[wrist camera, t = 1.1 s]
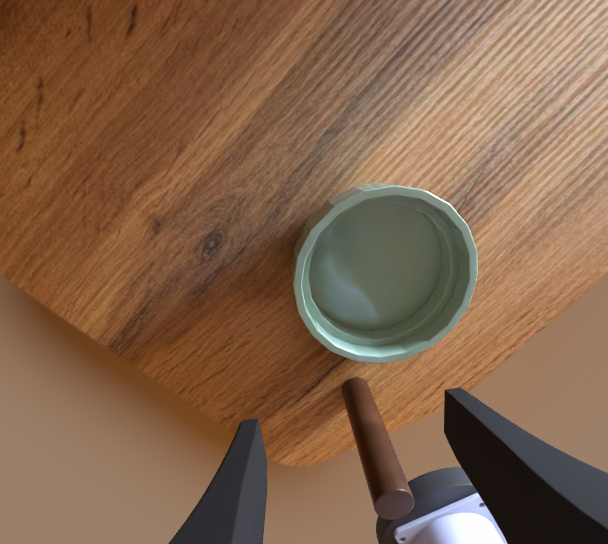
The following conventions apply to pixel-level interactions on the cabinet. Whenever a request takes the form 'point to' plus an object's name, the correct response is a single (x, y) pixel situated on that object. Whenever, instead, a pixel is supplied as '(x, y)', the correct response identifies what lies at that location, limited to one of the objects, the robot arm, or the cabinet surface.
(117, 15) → the cabinet surface
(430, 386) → the cabinet surface
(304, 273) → the celadon bowl
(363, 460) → the stirring stick
